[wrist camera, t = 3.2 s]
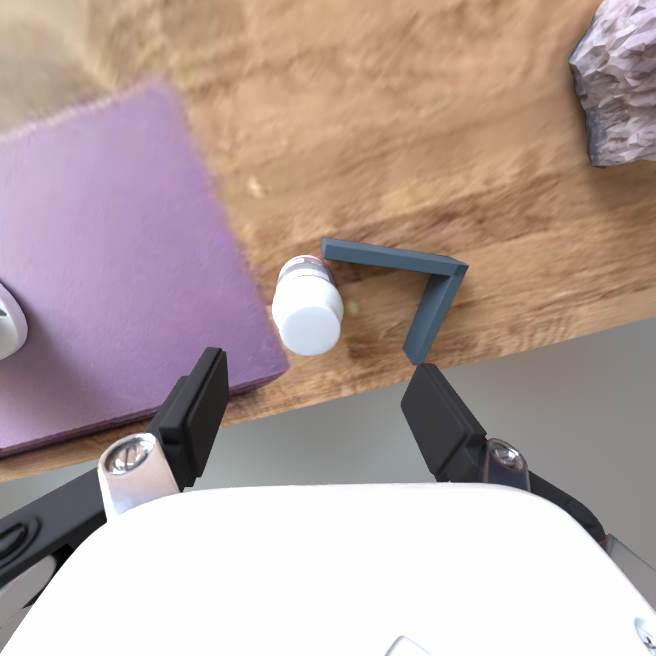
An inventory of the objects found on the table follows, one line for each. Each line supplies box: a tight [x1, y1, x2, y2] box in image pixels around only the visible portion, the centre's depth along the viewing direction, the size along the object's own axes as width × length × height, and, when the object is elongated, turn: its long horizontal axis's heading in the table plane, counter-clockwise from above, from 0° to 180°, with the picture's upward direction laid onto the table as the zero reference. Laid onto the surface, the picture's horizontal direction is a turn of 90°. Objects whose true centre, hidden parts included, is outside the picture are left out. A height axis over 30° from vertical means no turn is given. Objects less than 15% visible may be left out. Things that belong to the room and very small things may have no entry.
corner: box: [321, 237, 469, 365], centre depth 24 cm, size 13×12×3 cm
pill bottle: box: [272, 256, 343, 356], centre depth 19 cm, size 5×5×10 cm
